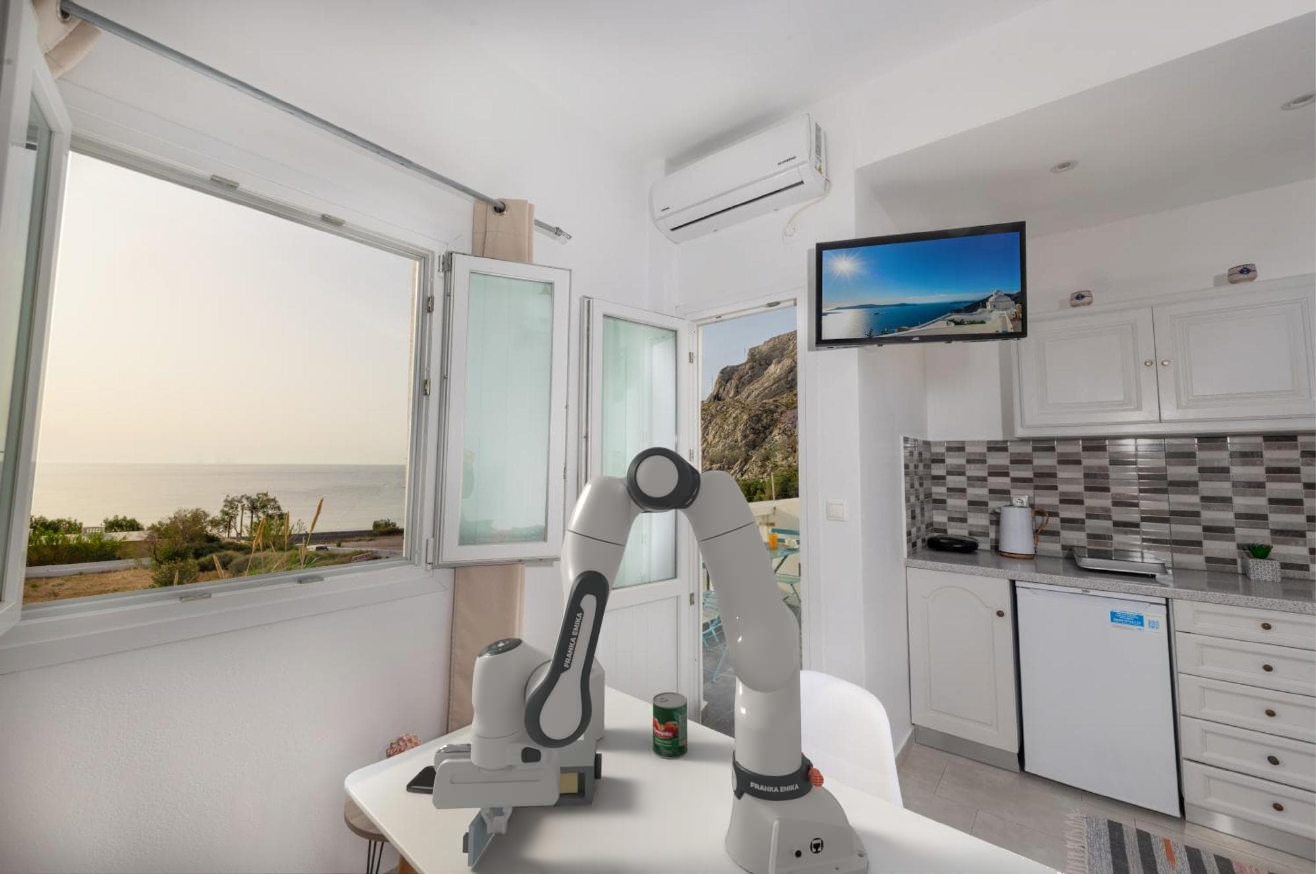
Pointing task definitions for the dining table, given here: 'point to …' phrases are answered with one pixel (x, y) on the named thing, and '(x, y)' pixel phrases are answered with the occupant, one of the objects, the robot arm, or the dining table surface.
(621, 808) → the dining table surface
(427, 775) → the phone
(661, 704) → the canned tomato
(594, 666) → the milk carton
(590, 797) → the box
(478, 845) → the side door
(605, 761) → the dining table surface
